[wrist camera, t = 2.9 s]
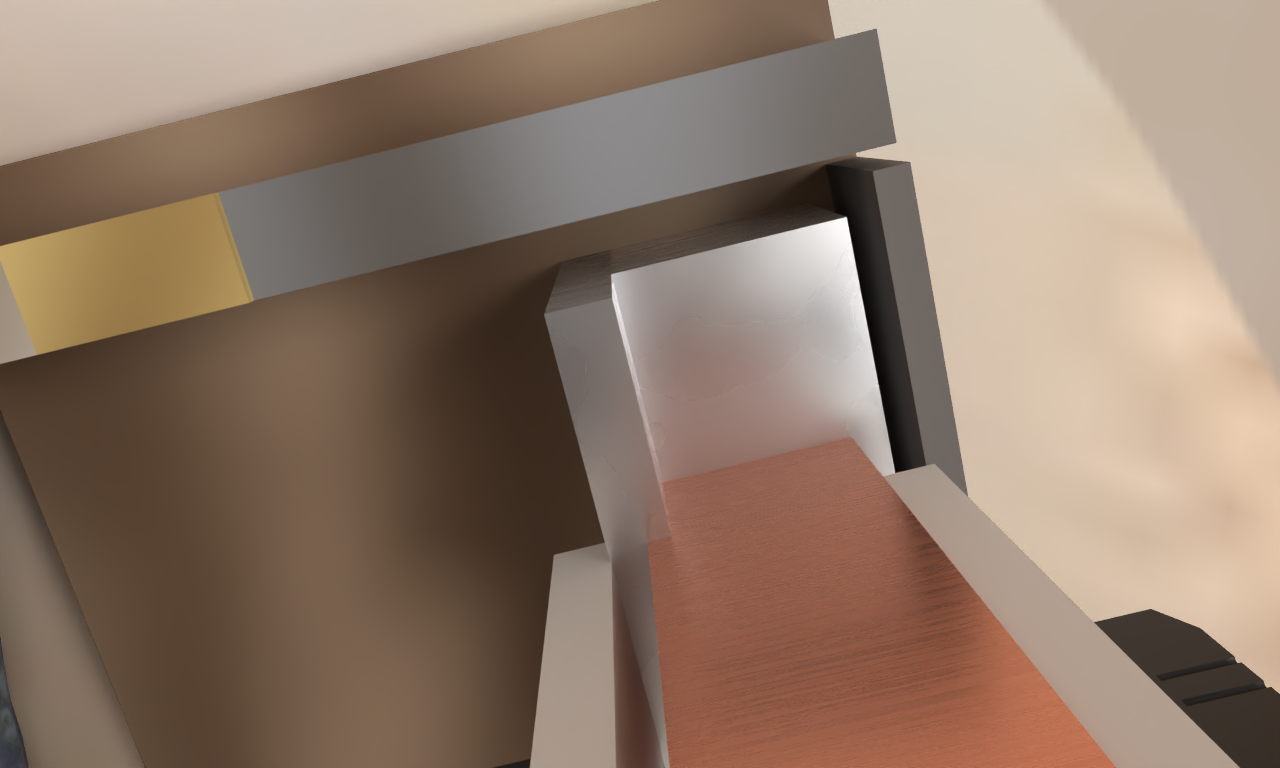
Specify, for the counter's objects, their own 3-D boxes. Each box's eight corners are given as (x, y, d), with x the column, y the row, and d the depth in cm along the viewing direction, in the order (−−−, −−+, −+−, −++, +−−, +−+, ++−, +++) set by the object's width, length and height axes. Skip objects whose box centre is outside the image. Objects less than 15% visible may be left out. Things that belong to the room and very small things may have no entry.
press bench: (263, 961, 21) (181, 1161, 17) (-43, 184, 17) (-244, 201, 13) (962, 802, 21) (1049, 967, 17) (805, -29, 17) (868, -79, 13)
